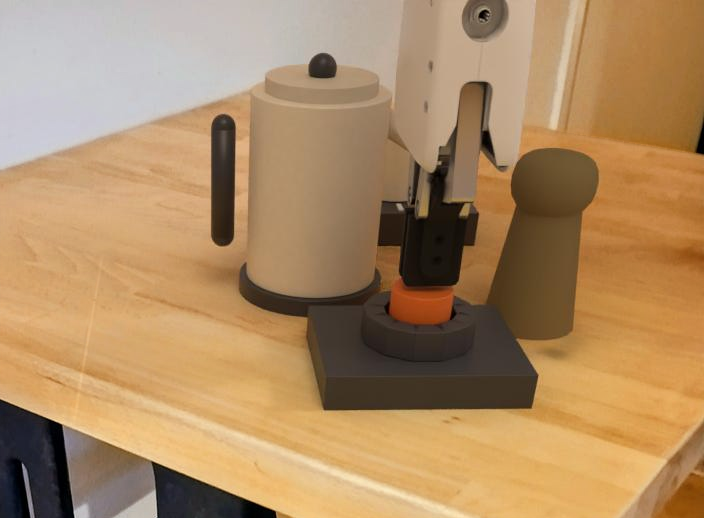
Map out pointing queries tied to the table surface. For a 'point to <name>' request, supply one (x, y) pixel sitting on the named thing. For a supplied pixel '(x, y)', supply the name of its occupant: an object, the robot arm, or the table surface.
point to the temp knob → (396, 173)
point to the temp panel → (395, 218)
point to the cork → (543, 243)
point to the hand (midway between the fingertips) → (427, 280)
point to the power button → (421, 303)
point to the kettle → (307, 185)
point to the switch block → (417, 359)
